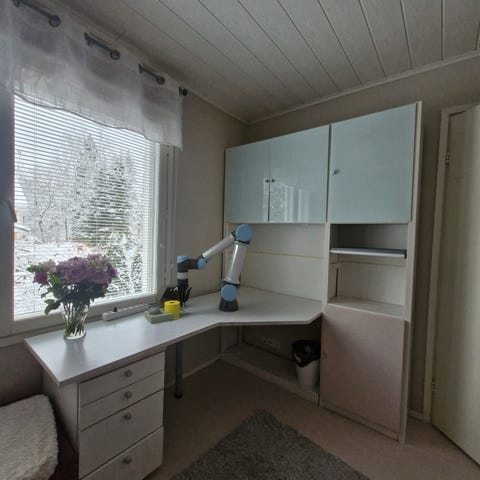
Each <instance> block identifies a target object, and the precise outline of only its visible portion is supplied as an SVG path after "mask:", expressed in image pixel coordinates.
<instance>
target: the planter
mask: <svg viewBox="0 0 480 480" xmlns="http://www.w3.org/2000/svg"><path fill="white" fill-rule="evenodd" d="M175 288H177V284H175V283H172V284H165V285H161V286H160V288H159V290H158V291H157V293H156V295H155V296H154V299H155V302H156V303H157V307H160V308H161V309H162V308H164V307H165V302H167V301H178V300H177V297H176V293H175V291H174V289H175ZM178 294H179V297H180V291H179V290H178Z"/></svg>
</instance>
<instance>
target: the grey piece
mask: <svg viewBox="0 0 480 480" xmlns="http://www.w3.org/2000/svg"><path fill="white" fill-rule="evenodd" d="M144 318H145V319H146V320H147V321H148V322H149V324H150V325H153V324H159V323H165V322H171V321H174V320H175V319H174V314H173V313H171V314H167V313H166V312H165V311H164V308H162V309H161V308H160V307H158V306H152V307H149V309H148V310H145V311H144Z"/></svg>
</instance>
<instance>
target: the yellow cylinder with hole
mask: <svg viewBox="0 0 480 480" xmlns="http://www.w3.org/2000/svg"><path fill="white" fill-rule="evenodd" d="M180 309H181V306H180V302H179V301H167V302H165V307H164V311H165V312H166V313H167V314H171V313H173V314H174V320H175V319H178V318H180V317H181V313H180Z"/></svg>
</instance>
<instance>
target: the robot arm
mask: <svg viewBox="0 0 480 480" xmlns="http://www.w3.org/2000/svg"><path fill="white" fill-rule="evenodd" d="M253 236H254V230H253V228H252V227H251V225H250V224H247V223H242V224H239V225H238V226H237V227H236V228H235V229H234V230H233V231H231V232H230V234H229V235H228V236H226V237H224V239H222V240H220V241H218V242H217V243H216V244H215V245H213V246H212V247H210V248H208V249H207V250H206V251H204V252H202V253H201V254H200V255H198V256H196V257H195V258H189V255H178V256H177V260H176V261H177V262H176V266H177V267H176V269H177V270H176V271H177V273H176V274H177V275H176V276H177V281H176V282H177V283H176V285H177V288H175V289H174V291H175V293H176V297H177V300H178V301H179V302H180V308H181V312H183V313H184V312H185V307H186V303H187V302H188V301H189V297H190V294H191V290H193V289H192V288H193V287H191V286H190V285H189V270H192V271H193V270H195V271H196V270H198V271H201V270H206V267H207V263H208V262H210V261H211V260H213V259H214V258H217V256H219V255H221V254H222V253H223V252H225V251H226V250H229V248H231V247H233V246H234V247H233V250H232V254H231V258H230V262H229V267H228V269H227V270H228V271H227V274H226V277H223V278H222V279H221V281H220V285H221V286H220V288H221V290H220V300H219V303H218V310H219V311H222V312H236V311H238V310H239V308H240V307H239V303H238V300H237V298H238V296H239V289H240V285H241V282H240V276H241V272H242V267H243V265H244V264H243V263H244V260H245V256H246V252H247V247H250V245H251V241H252V238H253ZM178 290H179V291H180V297H179V294H178Z"/></svg>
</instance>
